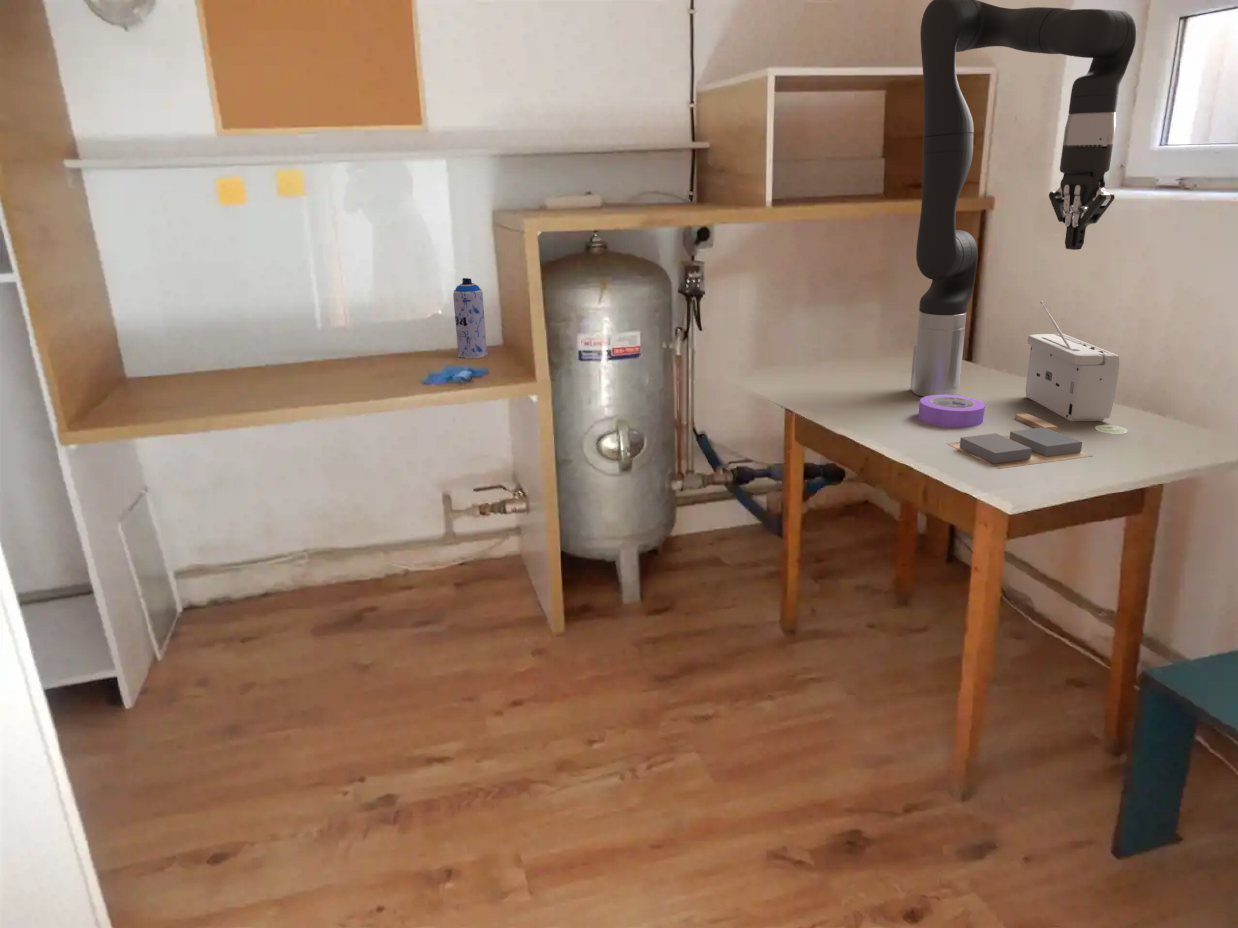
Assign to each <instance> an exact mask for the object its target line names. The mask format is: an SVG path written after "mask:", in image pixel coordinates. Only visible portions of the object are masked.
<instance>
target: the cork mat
mask: <svg viewBox="0 0 1238 928" xmlns="http://www.w3.org/2000/svg"><path fill="white" fill-rule="evenodd" d="M1002 436H1003V437H1006V438H1008V439H1010V435H1002ZM946 445H948V446H951V447H953V448H955V449H956V450H959V451H961V452H962V453H966V454H967V455H970V456H972V457H974V458H976V459H978V460H981V461H983V462H984V463H986V464H989V465H991V466H992V467H995V468H998V469H1000V470H1001V469H1008V468H1015V467H1022V466H1023V467H1024V466H1030V465H1037V464H1044V463H1051V462H1058V461H1060V462H1061V461H1066V460H1067V461H1068V460H1074V459H1082V458H1090V457H1092V455H1091V454H1088V453H1085V452H1083V451H1081V452H1078V453H1071V454H1063V455H1055V456H1048V457H1045V456H1043V455H1040V454H1038V453H1036V452H1033V451H1031V458H1030V459H1025V460H1018V461H1010V462H1003V463H995V464H994V463H991V462H989V461H987V460H985V459H983V458H981V457H979V456H977V455H974V454H972V453H970V452H968V451H966V450H964V449H962V448H960V441H956V442H948V443H946Z"/></svg>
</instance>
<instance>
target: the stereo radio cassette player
mask: <svg viewBox="0 0 1238 928" xmlns="http://www.w3.org/2000/svg"><path fill="white" fill-rule="evenodd" d="M1039 303H1040V304H1041V305H1042V306H1043V308H1044V310H1045V312H1046V314H1047V315H1048V317H1049V319H1050V321H1051V322H1052V324H1053V326H1054V328H1055V329H1056V331H1057V332H1058V333H1040V334H1037V333H1036V334H1029V335H1028V337H1027V344H1028V345H1030V351H1029V359H1028V360H1029V361H1028V367H1027V375H1026V381H1025V382H1026V383H1025V391H1024V392H1025V397H1026V398H1028V399H1029V400H1032V401H1033V402H1036V403H1037V404H1039V405H1041V406H1043V407H1045V408H1046V409H1048V410H1050V411H1052V412H1053V413H1056V414H1057V415H1058V416H1060V417H1062V418H1065V420H1067V421H1069V422H1104V420H1107V419H1109V418H1110V417H1111V413H1112V410H1113V407H1114V406H1113V405H1114V400H1115V396H1116V390H1117V384H1118V377H1119V369H1120V356H1119V355H1118V354H1117V353H1113V352H1111V351H1109V350H1106V349H1103V348H1101V347H1099V346H1096V345H1093V344H1090V343H1088V342H1085V341H1084V340H1080V339H1078V338H1075V337H1073V336H1071V335H1068V334H1065V333H1063V332H1062V331H1061V329H1060V327H1059V326H1058V324H1057V323H1056V321H1055V319H1054V318H1053V316H1052V315H1051V314H1050V312H1049V310H1048V308H1047V307H1046V306H1045V304H1044V301H1043V300H1040V302H1039Z"/></svg>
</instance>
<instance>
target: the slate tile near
mask: <svg viewBox="0 0 1238 928" xmlns="http://www.w3.org/2000/svg"><path fill="white" fill-rule="evenodd" d="M1003 436H1004V435H1000V434H998V433H996V432H995V433H994V432H993V433H987V434H986V433H985V434H979V435H977V434H976V435H970V436H964V437H963V436H962V437H960V441H959V442H960V448H962V449H964V450H966V451H968V452H970V453H972V454H974V455H977V456H979V457H981V458H983V459H985V460H987V461H989V462H991V463H994V464H995V463H1003V462H1010V461H1018V460H1025V459H1030V458H1031V450H1032V448H1030V447H1027V446H1025V445H1022V444H1020V443H1018V442H1015V441H1013V440H1011V439H1008V438H1006V437H1003Z"/></svg>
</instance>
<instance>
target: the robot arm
mask: <svg viewBox="0 0 1238 928" xmlns="http://www.w3.org/2000/svg"><path fill="white" fill-rule="evenodd" d="M1137 34H1138V29H1137V23H1136V20H1135V17H1134V16H1133V15H1132V14H1131V13H1130V12H1127V11H1125V10H1115V9H1103V8H1101V9H1100V8H1078V9H1077V8H1076V9H1070V8H1065V7H1046V6H1045V7H1042V6H1041V7H1039V6H1036V7H1035V6H1034V7H1033V6H1032V7H1024V8H1023V7H1021V8H1008V7H1007V8H1006V7H1001V6H997V5H993V4H990V3H987V2H983V1H980V0H931V1H930V2H929V3H928V5H927V6H926V8H925V10H924V12H923V15H922V19H921V24H920V34H919V35H920V52H921V54H920V55H921V62H922V77H923V78H922V79H923V80H922V81H923V128H922V129H923V130H922V131H923V132H922V177H921V178H922V179H921V180H922V181H921V207H920V217H919V218H920V219H919V226H918V232H917V233H918V234H917V241H916V252H915V257H916V263H917V268H918V269H919V271H920V273H921V275H923V277H925V278H926V279H929V280H932V281H931V283H930V287H929V288H928V290H927V291H926V292H925V293H924V294H923V295H922V296H921V298H920V300H919V308H918V319H917V320H918V321H917V334H916V343H915V345H914V346H913V353H912V364H911V365H912V366H911V377H910V378H911V379H910V390H912V393H913V394H914V395H917V396H919V397H922V398H923V397H926V396H930V395H958V396H959V393H960V392H959V389H960V382H961V381H960V380H961V372H962V363H963V353H964V343H965V333H966V321H967V313H968V312H967V311H968V305H969V302H970V301H971V299H972V297H973V294H974V288H975V280H976V274H977V265H978V258H979V257H978V256H979V255H978V246H977V245H978V244H977V242H976V240H975V239H974V236H973V235H971V234H970V233H969V232H967V231H965V230H961V229H956V218H957V216H956V215H957V214H956V213H957V206H958V202H959V198H960V194H961V192H962V189H963V187H964V184H965V183H966V180H967V177H968V175H969V172H970V169H971V166H972V163H973V155H974V133H975V132H974V131H975V129H974V120H973V116H972V113H971V111H970V108H969V106H968V104H967V102H966V99H965V97H964V95H963V92H962V90H961V88H960V85H959V81H958V77H957V69H956V68H957V64H956V63H957V59H956V57H957V53H961V52H965V51H971V50H976V49H985V48H989V47H991V48H992V47H1005V48H1009V49H1013V50H1016V51H1021V52H1027V53H1035V54H1047V55H1059V54H1060V55H1064V56H1070V57H1076V58H1083V59H1084V58H1085V59H1086V58H1087V59H1088V58H1089V59H1092V60H1091V63H1090V66H1089V69H1088V72H1087V73H1086V74H1084V75H1081V76H1078V77H1077V78H1076V79H1075V80H1074V82H1073V83H1072V87H1071V91H1070V100H1069V106H1068V107H1069V108H1068V115H1067V119H1066V123H1065V126H1064V132H1063V133H1064V134H1063V140H1062V141H1063V142H1062V148H1061V154H1060V155H1061V156H1060V165H1059V172H1060V173H1062V174H1063V176H1062V179H1061V181H1060V185H1059V188H1058V189H1057V190H1056V191H1050V192H1049V193H1048V198H1049V200H1050V203H1051V206H1052V208H1053V210H1054V213H1055V216H1056V218H1057V220H1058V222H1059V223H1063V224H1064V225H1065V226H1066V229H1065V230H1066V231H1065V239H1064V246H1065V249H1066V250H1072V251H1075V250H1077V251H1078V250H1082V247H1083V245H1084V243H1085V238H1086V236H1085V235H1086V229H1087V227H1088V226H1090V225H1091V224H1092V225H1095V224H1097V223H1098V222H1099V220H1100V219H1101V218H1102V217H1103V215H1104V214H1105V212H1106V211H1107V209H1108V208H1109V207H1110V206H1111V205H1112V202H1113V201H1114V200H1115V194H1114V193H1109V192H1108V191H1107V190H1106V189H1105V187H1106V180H1105V174H1106V173H1107V172H1109V171H1110V169H1111V161H1112V153H1113V146H1114V139H1115V133H1116V114H1117V113H1116V112H1117V107H1118V99H1119V91H1120V85H1121V82H1122V80H1123V78H1124V76H1125V74H1126V72H1127V68H1128V67H1129V66H1128V65H1129V63H1130V61H1131V57H1132V56H1133V53H1134V50H1135V46H1136V43H1137V37H1138V36H1137Z"/></svg>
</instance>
